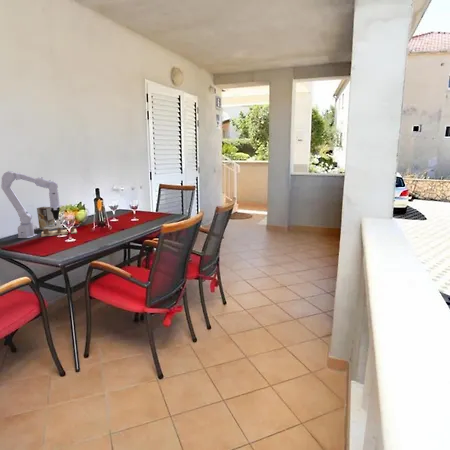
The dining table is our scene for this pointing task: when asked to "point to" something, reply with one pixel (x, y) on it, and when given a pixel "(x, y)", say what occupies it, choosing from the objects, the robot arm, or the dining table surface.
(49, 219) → the coffee box
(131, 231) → the dining table surface
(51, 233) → the display stand
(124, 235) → the dining table surface
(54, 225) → the glasses frame
